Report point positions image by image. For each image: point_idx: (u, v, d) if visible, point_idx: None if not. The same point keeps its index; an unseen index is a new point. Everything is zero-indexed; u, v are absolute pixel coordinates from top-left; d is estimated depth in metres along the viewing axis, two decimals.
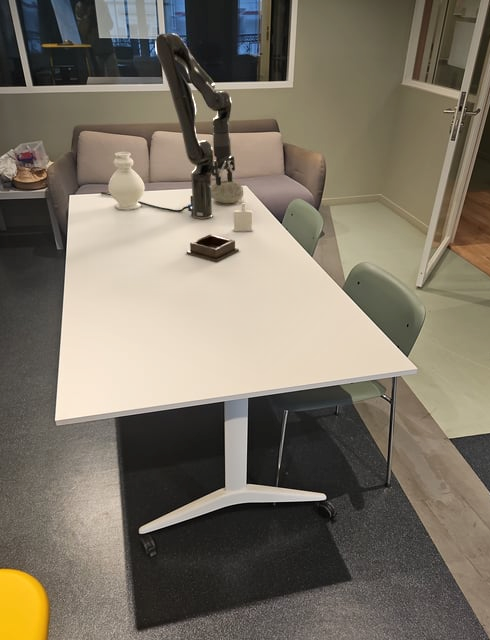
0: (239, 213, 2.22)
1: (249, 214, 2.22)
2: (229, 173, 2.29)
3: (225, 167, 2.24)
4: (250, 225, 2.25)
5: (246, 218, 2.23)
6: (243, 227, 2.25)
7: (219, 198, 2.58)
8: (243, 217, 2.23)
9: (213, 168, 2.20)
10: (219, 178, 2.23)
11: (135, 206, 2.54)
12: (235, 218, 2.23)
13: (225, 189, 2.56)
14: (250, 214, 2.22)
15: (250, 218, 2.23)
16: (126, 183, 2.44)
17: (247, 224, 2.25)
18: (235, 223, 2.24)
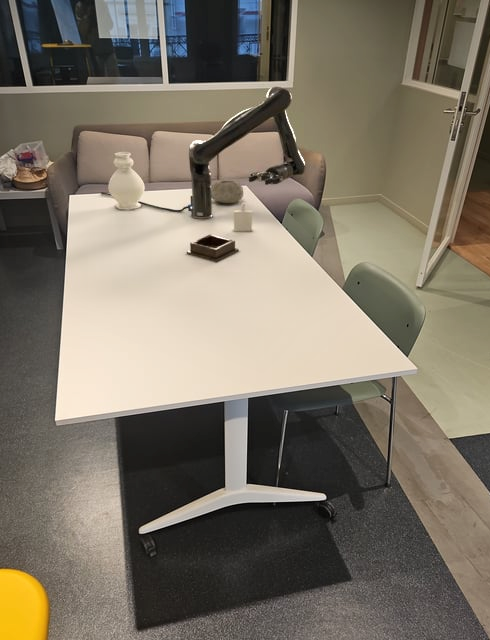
0: (239, 213, 2.22)
1: (249, 214, 2.22)
2: (254, 178, 2.28)
3: None
4: (250, 225, 2.25)
5: (246, 218, 2.23)
6: (243, 227, 2.25)
7: (219, 198, 2.58)
8: (243, 217, 2.23)
9: (279, 179, 2.25)
10: (269, 183, 2.24)
11: (135, 206, 2.54)
12: (235, 218, 2.23)
13: (225, 189, 2.56)
14: (250, 214, 2.22)
15: (250, 218, 2.23)
16: (125, 183, 2.44)
17: (247, 224, 2.25)
18: (235, 223, 2.24)
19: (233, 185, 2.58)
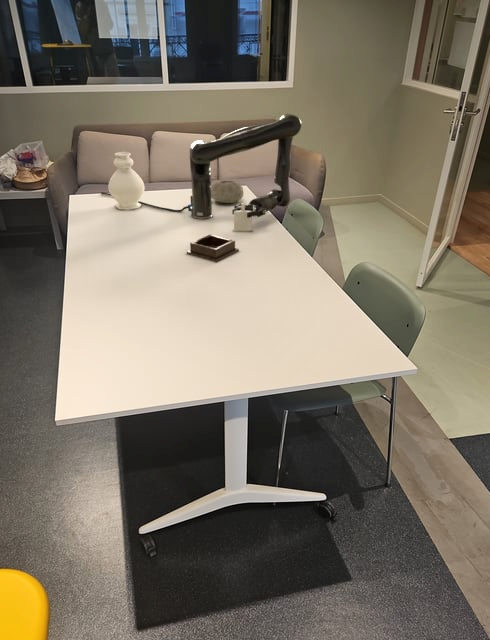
0: (239, 213, 2.22)
1: None
2: None
3: None
4: (250, 225, 2.25)
5: (246, 218, 2.23)
6: (243, 227, 2.25)
7: (219, 198, 2.58)
8: (243, 217, 2.23)
9: (262, 212, 2.23)
10: None
11: (135, 206, 2.54)
12: (235, 218, 2.23)
13: (225, 189, 2.56)
14: None
15: (250, 218, 2.23)
16: (125, 183, 2.44)
17: (247, 224, 2.25)
18: (235, 223, 2.24)
19: (233, 185, 2.58)
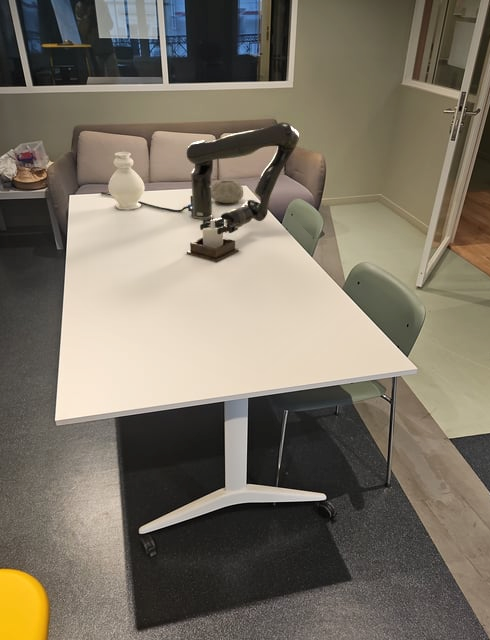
0: (208, 231, 1.98)
1: None
2: (207, 225, 2.02)
3: None
4: (221, 244, 2.01)
5: (216, 236, 2.00)
6: (213, 246, 2.02)
7: (219, 198, 2.58)
8: (213, 235, 1.99)
9: (234, 227, 1.99)
10: None
11: (135, 206, 2.54)
12: (204, 236, 2.00)
13: (225, 189, 2.56)
14: None
15: (221, 236, 2.00)
16: (125, 183, 2.44)
17: (218, 243, 2.01)
18: (204, 242, 2.01)
19: (233, 185, 2.58)
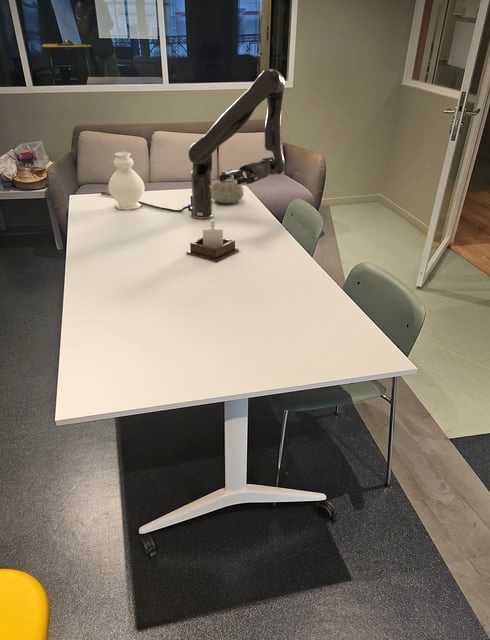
0: (208, 231, 1.98)
1: (219, 232, 1.99)
2: (226, 177, 2.01)
3: None
4: (221, 244, 2.01)
5: (216, 236, 2.00)
6: (213, 246, 2.02)
7: (219, 198, 2.58)
8: (213, 235, 1.99)
9: (254, 178, 1.98)
10: (242, 182, 1.97)
11: (135, 206, 2.54)
12: (204, 236, 2.00)
13: (225, 189, 2.56)
14: (221, 232, 1.99)
15: (221, 236, 2.00)
16: (125, 183, 2.44)
17: (218, 243, 2.01)
18: (204, 242, 2.01)
19: (233, 185, 2.58)
